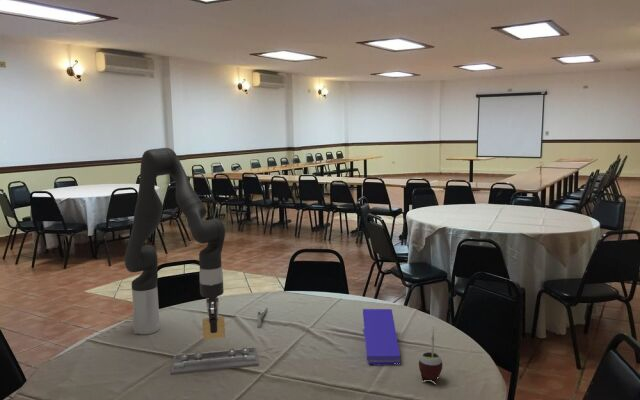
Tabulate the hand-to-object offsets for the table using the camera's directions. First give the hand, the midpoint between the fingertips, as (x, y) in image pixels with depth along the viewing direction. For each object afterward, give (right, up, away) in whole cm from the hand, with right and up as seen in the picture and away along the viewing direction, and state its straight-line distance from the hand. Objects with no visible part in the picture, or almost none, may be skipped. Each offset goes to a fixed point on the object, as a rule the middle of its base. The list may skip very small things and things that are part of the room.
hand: (213, 330), depth 171 cm
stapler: (+56, -9, +11) cm, 58 cm away
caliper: (+12, -5, +40) cm, 42 cm away
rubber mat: (0, -11, +2) cm, 11 cm away
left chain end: (-6, -10, 0) cm, 12 cm away
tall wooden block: (0, -2, 0) cm, 2 cm away
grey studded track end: (+7, -10, +3) cm, 12 cm away
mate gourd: (+69, -12, -12) cm, 71 cm away
